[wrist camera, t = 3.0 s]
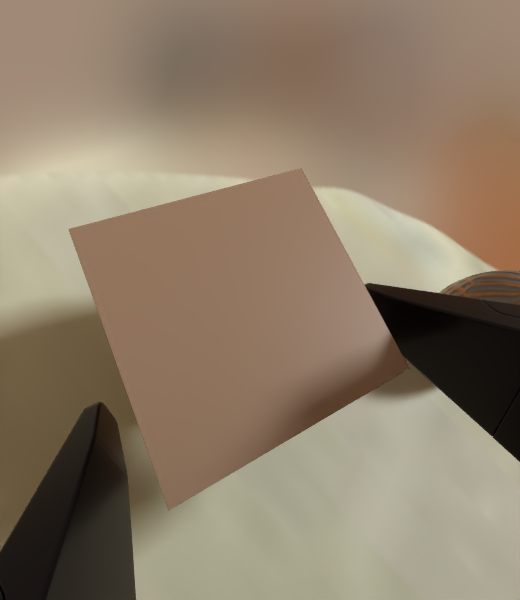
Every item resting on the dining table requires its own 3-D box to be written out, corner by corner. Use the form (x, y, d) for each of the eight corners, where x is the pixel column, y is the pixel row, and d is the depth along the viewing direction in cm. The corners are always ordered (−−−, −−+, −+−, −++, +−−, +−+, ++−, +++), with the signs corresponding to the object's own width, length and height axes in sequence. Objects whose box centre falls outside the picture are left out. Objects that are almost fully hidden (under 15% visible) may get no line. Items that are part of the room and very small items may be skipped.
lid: (330, 372, 12) (409, 368, 8) (182, 451, 10) (168, 510, 6) (265, 239, 14) (299, 165, 9) (121, 287, 12) (67, 225, 7)
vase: (390, 341, 20) (521, 315, 12) (428, 274, 23) (559, 214, 14) (465, 401, 20) (648, 416, 12) (495, 328, 23) (666, 298, 14)
